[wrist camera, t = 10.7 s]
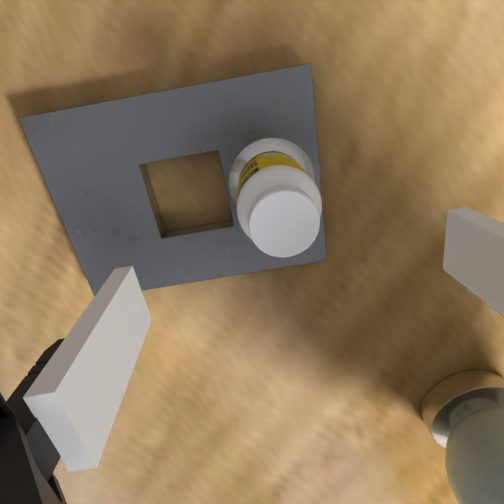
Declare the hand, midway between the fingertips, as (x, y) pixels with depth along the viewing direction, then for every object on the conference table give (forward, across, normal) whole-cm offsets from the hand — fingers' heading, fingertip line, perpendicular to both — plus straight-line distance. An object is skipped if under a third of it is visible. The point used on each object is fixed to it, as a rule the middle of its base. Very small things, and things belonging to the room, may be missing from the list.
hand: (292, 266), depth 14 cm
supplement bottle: (+15, +1, 0) cm, 15 cm away
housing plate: (+17, -6, 0) cm, 18 cm away
